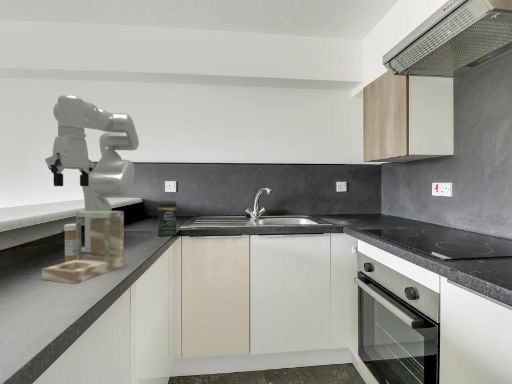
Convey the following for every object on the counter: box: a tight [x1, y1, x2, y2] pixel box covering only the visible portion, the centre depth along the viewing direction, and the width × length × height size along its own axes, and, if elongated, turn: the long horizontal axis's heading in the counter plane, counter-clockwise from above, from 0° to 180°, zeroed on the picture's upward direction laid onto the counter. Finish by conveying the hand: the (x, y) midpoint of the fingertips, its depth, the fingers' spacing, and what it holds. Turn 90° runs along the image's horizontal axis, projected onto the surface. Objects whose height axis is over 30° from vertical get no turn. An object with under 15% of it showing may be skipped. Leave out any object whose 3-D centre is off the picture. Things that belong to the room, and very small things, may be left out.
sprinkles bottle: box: [63, 223, 76, 263], centre depth 97 cm, size 5×5×14 cm
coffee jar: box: [157, 200, 178, 237], centre depth 154 cm, size 10×8×19 cm
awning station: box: [41, 210, 125, 285], centre depth 88 cm, size 18×12×18 cm, turn 164°
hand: (72, 186), depth 96 cm, fingers open, 9 cm apart
